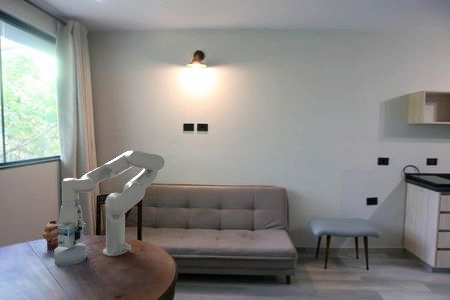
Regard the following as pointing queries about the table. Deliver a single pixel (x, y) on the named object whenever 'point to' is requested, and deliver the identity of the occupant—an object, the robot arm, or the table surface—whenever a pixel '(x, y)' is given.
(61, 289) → the table surface
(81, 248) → the smooth grey ovoid
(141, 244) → the table surface
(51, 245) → the orange-brown clay pot
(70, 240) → the light bulb box
